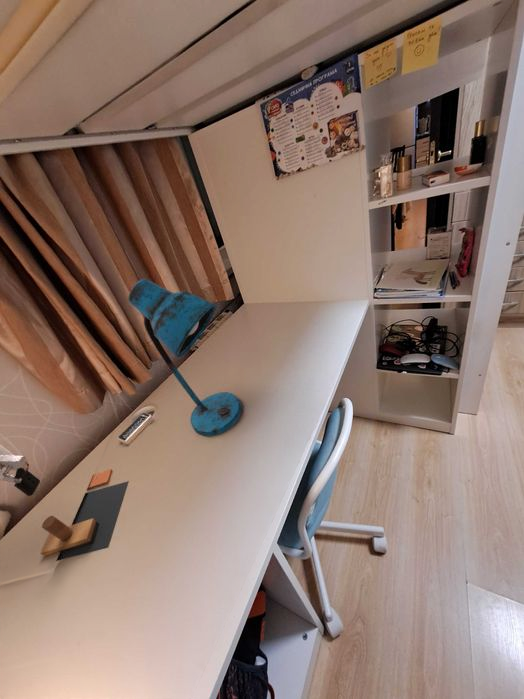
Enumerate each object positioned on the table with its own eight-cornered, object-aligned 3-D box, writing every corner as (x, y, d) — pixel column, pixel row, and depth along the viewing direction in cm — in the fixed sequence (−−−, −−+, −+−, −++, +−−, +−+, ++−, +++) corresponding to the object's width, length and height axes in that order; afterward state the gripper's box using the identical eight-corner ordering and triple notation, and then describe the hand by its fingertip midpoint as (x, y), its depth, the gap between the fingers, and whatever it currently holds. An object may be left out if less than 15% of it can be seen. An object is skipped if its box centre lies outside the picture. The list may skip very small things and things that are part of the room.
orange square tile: (96, 488, 79) (93, 486, 78) (100, 475, 82) (97, 473, 81) (109, 484, 78) (106, 481, 78) (113, 471, 82) (111, 468, 81)
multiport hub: (120, 442, 91) (116, 437, 90) (146, 416, 98) (143, 411, 97) (128, 446, 89) (124, 441, 87) (154, 419, 95) (151, 414, 94)
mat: (28, 569, 65) (26, 568, 65) (61, 500, 78) (60, 499, 78) (109, 548, 64) (108, 547, 64) (130, 482, 77) (128, 480, 77)
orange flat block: (81, 493, 79) (78, 490, 78) (87, 480, 82) (84, 477, 81) (95, 489, 79) (92, 486, 78) (100, 476, 82) (97, 473, 81)
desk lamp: (242, 443, 78) (167, 291, 53) (180, 431, 88) (93, 299, 63) (264, 399, 89) (210, 258, 64) (207, 393, 99) (142, 269, 74)
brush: (47, 558, 65) (18, 540, 60) (56, 537, 69) (29, 519, 64) (93, 543, 65) (67, 525, 60) (99, 523, 69) (76, 504, 64)
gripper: (-2, 410, 50) (61, 467, 59) (-90, 436, 51) (-14, 488, 61) (-35, 445, 44) (42, 502, 53) (-134, 474, 45) (-42, 525, 54)
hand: (12, 494), depth 57 cm, fingers open, 9 cm apart
